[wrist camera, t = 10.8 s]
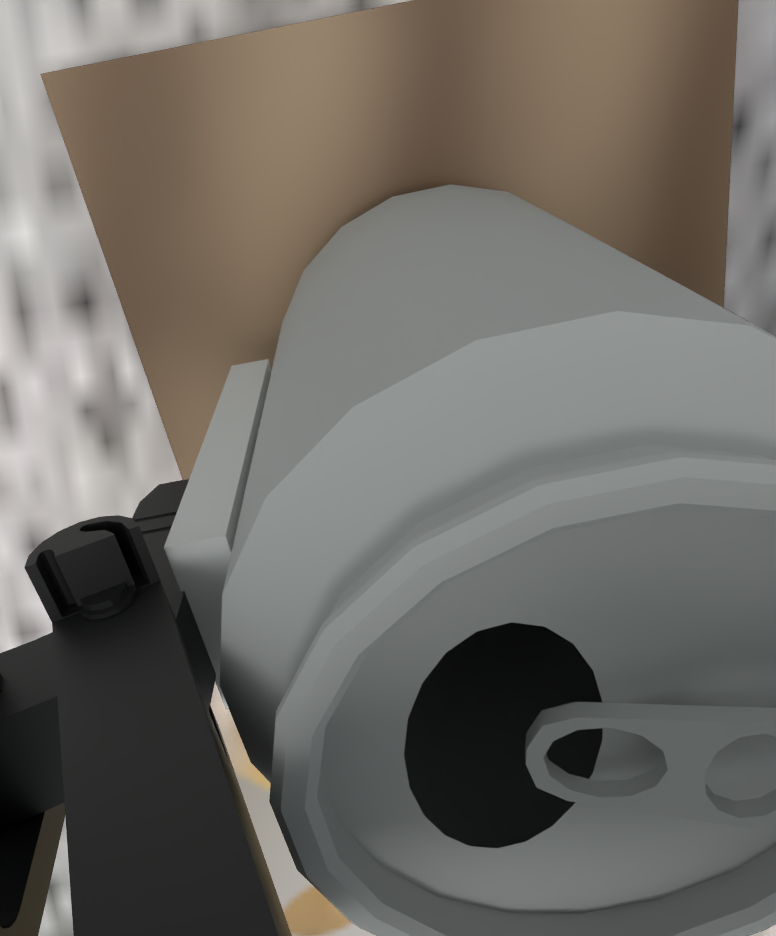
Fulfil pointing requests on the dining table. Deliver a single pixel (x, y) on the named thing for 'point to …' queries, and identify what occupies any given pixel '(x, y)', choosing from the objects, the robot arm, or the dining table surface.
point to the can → (512, 584)
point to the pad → (388, 155)
